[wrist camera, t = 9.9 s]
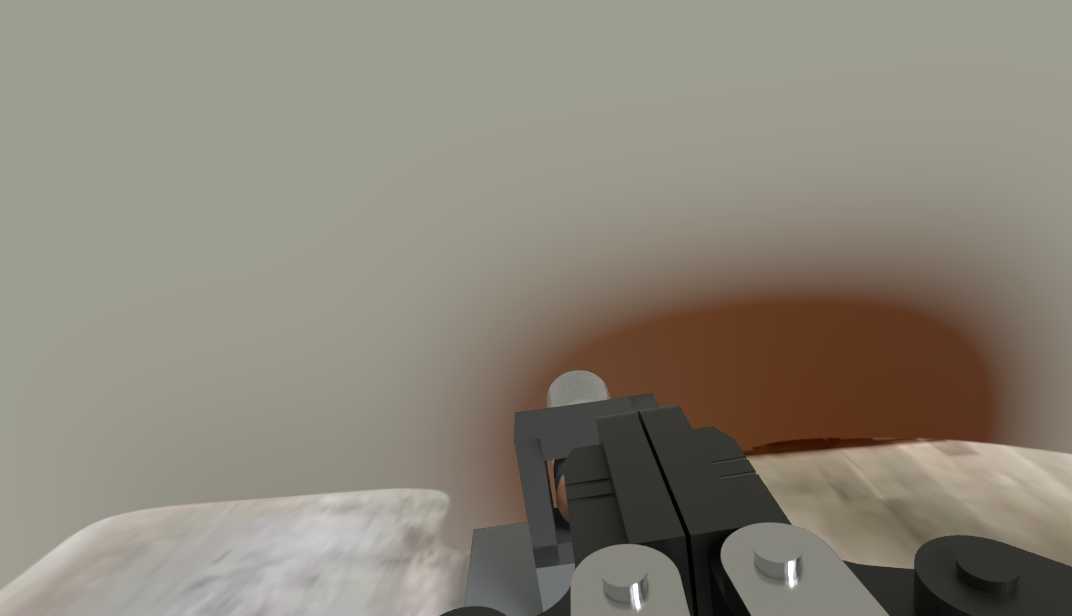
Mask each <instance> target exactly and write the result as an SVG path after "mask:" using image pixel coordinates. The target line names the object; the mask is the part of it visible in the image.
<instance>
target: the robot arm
mask: <svg viewBox="0 0 1072 616" xmlns="http://www.w3.org/2000/svg"><path fill="white" fill-rule="evenodd" d="M596 424H597V431H598V438H599V444H598V445H592V446H585V447H579V448H572V450H571V452H570V453H569V455H568V457H567V459H566V461H565V463H564V464H563V473H564V481H565V489H566V497H567V505H568V513H569V521H570V529H571V537H572V545H573V553H574V561H575V571H574V573H573V576H572V579H571V586H570V587H569V589H568V591H567V592H566V593H565V595H564V596H563V597H562V598H561V599H560V600H559V601H558V602H557V603H556V604H555V605H553V606H552V607H550V608H549V609H548V610H546V611H544V612H542V613H540V614H539V615H537V616H1072V567H1071V566H1068V565H1065V564H1062V563H1059V562H1056V561H1053V560H1051V559H1048V558H1045V557H1042V556H1039V555H1036V554H1034V553H1031V552H1028V551H1025V550H1022V549H1019V548H1016V547H1014V546H1011V545H1008V544H1005V543H1002V542H998V541H995V540H991V539H987V538H982V537H975V536H963V535H955V536H945V537H940V538H936V539H933V540H931V541H929V542H927V543H925V544H924V545H922V546H921V547H920V548H919V549H918V551H917V553H916V555H915V561H914V569H904V568H892V567H881V566H869V565H862V564H856V563H851V562H847V561H843V560H841V558H840V557H839V556H838V555H837V554H836V553H835V551H834V550H833V549H832V548H831V547H830V546H829V545H828V544H827V543H826V542H825V541H824V540H823V539H821V538H820V537H818V536H817V535H815V534H813V533H812V532H810V531H807V530H805V529H802V528H800V527H796V526H793V525H792V524H791V523H790V521H789V520H788V518H787V517H786V515H785V514H784V512H783V511H782V510H781V508H780V507H779V505H778V504H777V502H776V501H775V499H774V498H773V496H772V495H771V493H770V492H769V490H768V489H767V487H766V486H765V484H764V483H763V481H762V480H761V478H760V477H759V475H756V471H755V469H754V468H753V466H752V465H751V463H750V462H749V460H746V456H745V454H744V453H743V452H742V450H741V449H740V447H739V446H738V444H737V443H736V441H735V440H734V439H733V438H731V437H730V436H728V435H726V434H725V433H723V432H721V431H720V430H718V429H716V428H714V427H707V428H700V429H693V430H692V428H691V426H690V424H689V422H688V421H687V419H686V417H685V415H684V414H683V412H682V410H681V408H680V407H679V405H677V404H676V405H671V406H664V407H657V408H651V409H644V410H638V413H637V414H636V412H635V411H632V412H626V413H620V414H613V415H607V416H601V417H596ZM440 616H506V615H505V614H503V613H502V612H500V611H498V610H495V609H493V608H489V607H483V606H469V607H462V608H458V609H454V610H451V611H449V612H446V613H444V614H442V615H440Z"/></svg>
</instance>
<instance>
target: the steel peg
mask: <svg viewBox="0 0 1072 616" xmlns="http://www.w3.org/2000/svg"><path fill="white" fill-rule="evenodd" d="M608 399H610V396H609V393H608V390H607V387H606V385H605V384H604V382H603V381H602V380H601V379H600V378H599V377H598V376H597V375H595V374H593V373H591V372H588V371H581V370H577V371H576V370H575V371H570V372H567V373H565V374H563V375H561V376H560V377H558V378H557V379H556V380H555V381H554V382H553V383H552V385H551V387H550V389H549V391H548V396H547V404H548V408H551V407H559V406H566V405H573V404H580V403H587V402H594V401H601V400H608ZM566 459H567V458H561V459H554V460H553V468H554V478H555V489H556V498H557V505H558V509H559V511H560V513H561V515H562V516H563V518H564V519H565V520H566V521H567V522H568V523H569V524H570V521H569V513H568V505H567V497H566V489H565V481H564V473H563V464H564V463H565V461H566Z"/></svg>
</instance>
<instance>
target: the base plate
mask: <svg viewBox="0 0 1072 616" xmlns="http://www.w3.org/2000/svg"><path fill="white" fill-rule="evenodd" d="M574 571H575V563H573V564H566V565H558V566H551V567H544V568H536V566H535V560H534V554H533V548H532V542H531V536H530V531H529V525H528V522H525V523H518V524H511V525H503V526H496V527H489V528H482V529H475V530H474V531H473V539H472V548H471V556H470V564H469V573H468V581H467V589H466V598H465V606H464V607H469V606H483V607H489V608H493V609H495V610H498V611H500V612H502V613H503V614H505V615H506V616H537V615H539V614H540V613H542V612H544V611H546V610H548V609H549V608H550V607H552V606H553V605H555V604H556V603H557V602H558V601H559V600H560V599H561V598H562V597H563V596H564V595H565V593H566V592H567V591H568V589H569V587H570V586H571V579H572V576H573V573H574Z"/></svg>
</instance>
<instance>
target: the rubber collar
mask: <svg viewBox="0 0 1072 616" xmlns="http://www.w3.org/2000/svg"><path fill="white" fill-rule="evenodd" d="M657 407H659V405H658V403H657V401H656V399H655V397H654V395H653V393H651V394H644V395H636V396H629V397H622V398H615V399H608V400H601V401H594V402H587V403H580V404H573V405H566V406H559V407H551V408H545V409H537V410H530V411H523V412H516V413H515V433H514V434H515V435H514V442H515V448H516V454H517V460H518V466H519V472H520V478H521V484H522V489H523V495H524V501H525V507H526V513H527V519H528V525H529V531H530V536H531V542H532V548H533V554H534V560H535V566H536V568H544V567H551V566H558V565H566V564H573V563H575V561H574V553H573V545H572V537H571V529H570V524H569V523H568V522H567V521H566V520H565V519H564V518H563V516H562V515H561V513H560V511H559V509H558V508H554V506H553V499H552V493H551V487H550V480H549V474H548V467H547V460H554V459H561V458H567V457H568V455H569V453H570V452H571V450H572V448H579V447H585V446H592V445H598V444H599V438H598V431H597V424H596V417H601V416H607V415H613V414H620V413H626V412H632V411H635V412H636V414H637V413H638V410H644V409H651V408H657Z"/></svg>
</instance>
